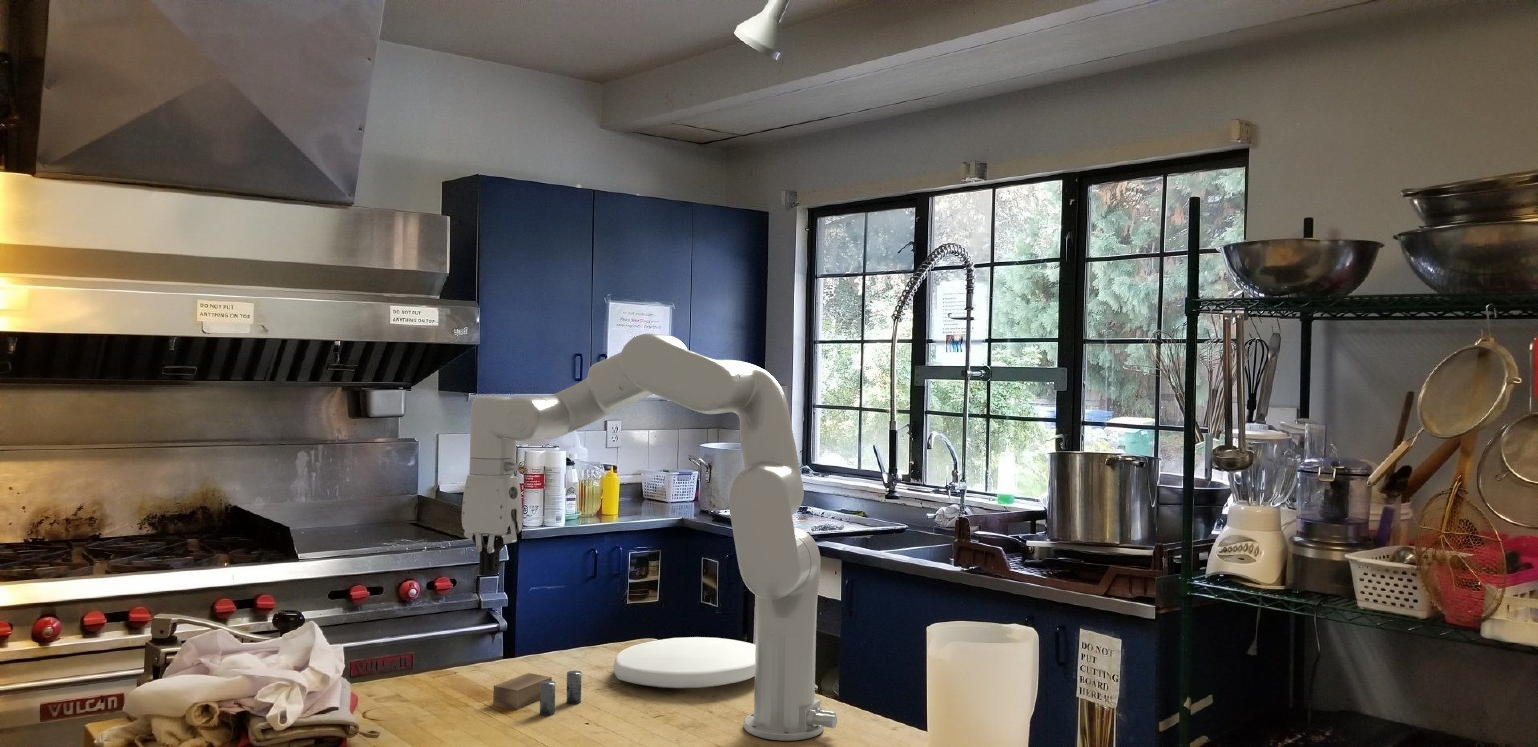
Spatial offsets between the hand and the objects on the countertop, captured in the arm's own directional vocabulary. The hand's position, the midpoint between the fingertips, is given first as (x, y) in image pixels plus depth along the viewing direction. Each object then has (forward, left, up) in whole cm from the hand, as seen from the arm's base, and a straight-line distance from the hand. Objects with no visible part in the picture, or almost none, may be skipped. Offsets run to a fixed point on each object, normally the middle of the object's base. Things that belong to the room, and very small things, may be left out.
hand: (489, 574), depth 188 cm
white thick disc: (-25, -27, -21) cm, 42 cm away
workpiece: (-8, 0, -21) cm, 22 cm away
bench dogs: (-16, 0, -21) cm, 26 cm away
